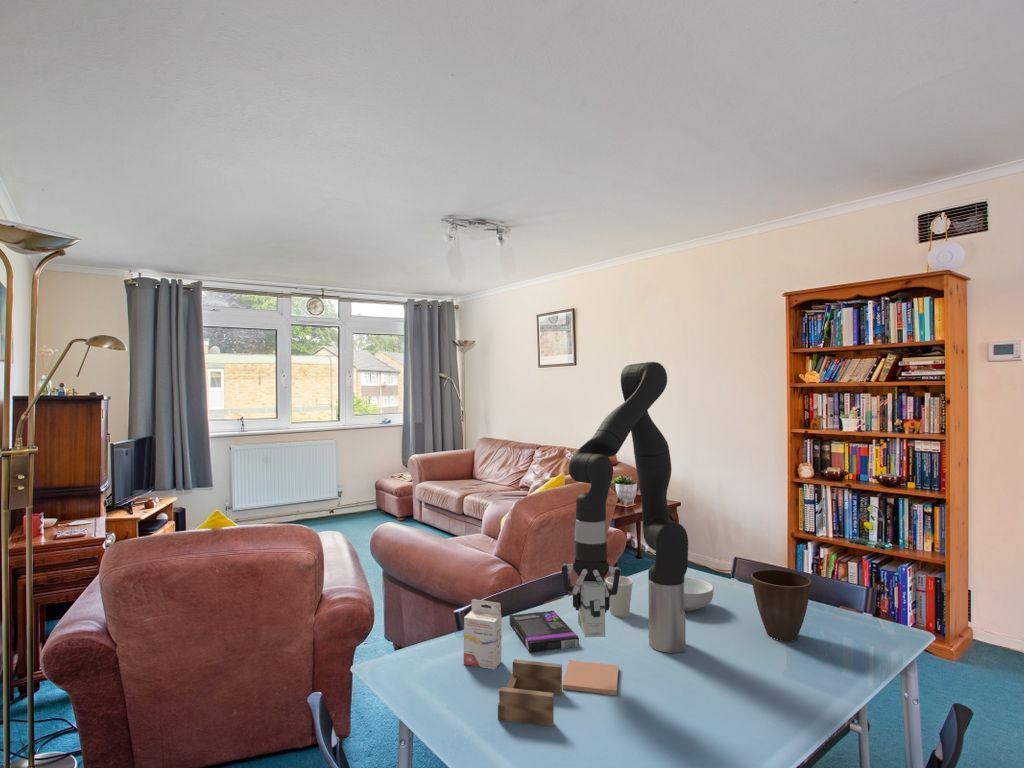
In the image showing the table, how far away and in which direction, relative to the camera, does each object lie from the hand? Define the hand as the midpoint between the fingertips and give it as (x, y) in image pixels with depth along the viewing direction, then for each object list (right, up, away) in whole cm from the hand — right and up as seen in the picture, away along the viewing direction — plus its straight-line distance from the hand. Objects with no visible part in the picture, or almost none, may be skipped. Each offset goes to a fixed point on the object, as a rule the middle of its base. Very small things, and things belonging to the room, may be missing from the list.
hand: (591, 610), depth 133 cm
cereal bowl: (+36, -17, +45) cm, 60 cm away
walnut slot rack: (-15, -16, -11) cm, 24 cm away
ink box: (0, -5, 0) cm, 5 cm away
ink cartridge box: (-26, -16, +8) cm, 32 cm away
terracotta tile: (0, -16, 0) cm, 16 cm away
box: (-10, -17, +24) cm, 31 cm away
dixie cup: (+14, -17, +39) cm, 45 cm away
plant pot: (+55, -16, +23) cm, 62 cm away
